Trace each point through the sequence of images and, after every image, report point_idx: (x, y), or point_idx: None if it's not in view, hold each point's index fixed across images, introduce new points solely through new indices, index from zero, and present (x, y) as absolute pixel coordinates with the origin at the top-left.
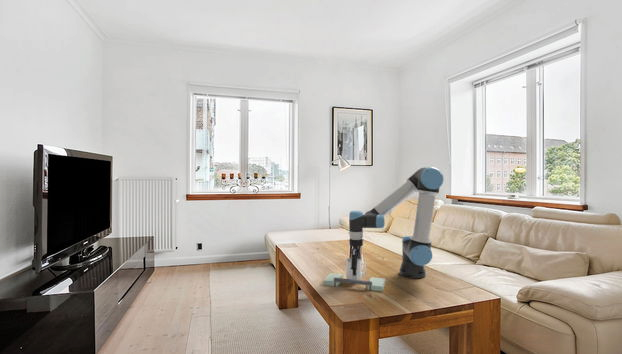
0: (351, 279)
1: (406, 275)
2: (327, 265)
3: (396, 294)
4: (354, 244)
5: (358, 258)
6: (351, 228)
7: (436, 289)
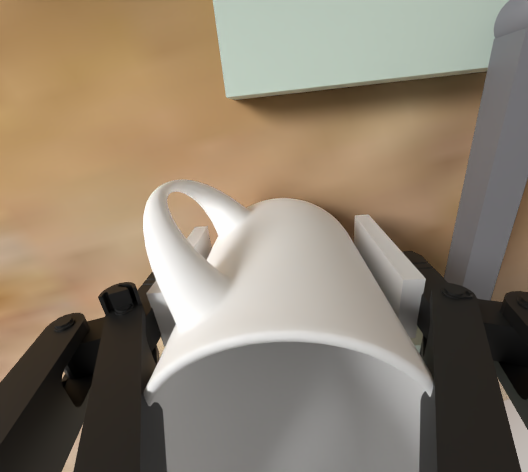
0: (473, 262)
1: None
2: (75, 443)
3: None
4: None
5: (147, 406)
6: None
7: None
